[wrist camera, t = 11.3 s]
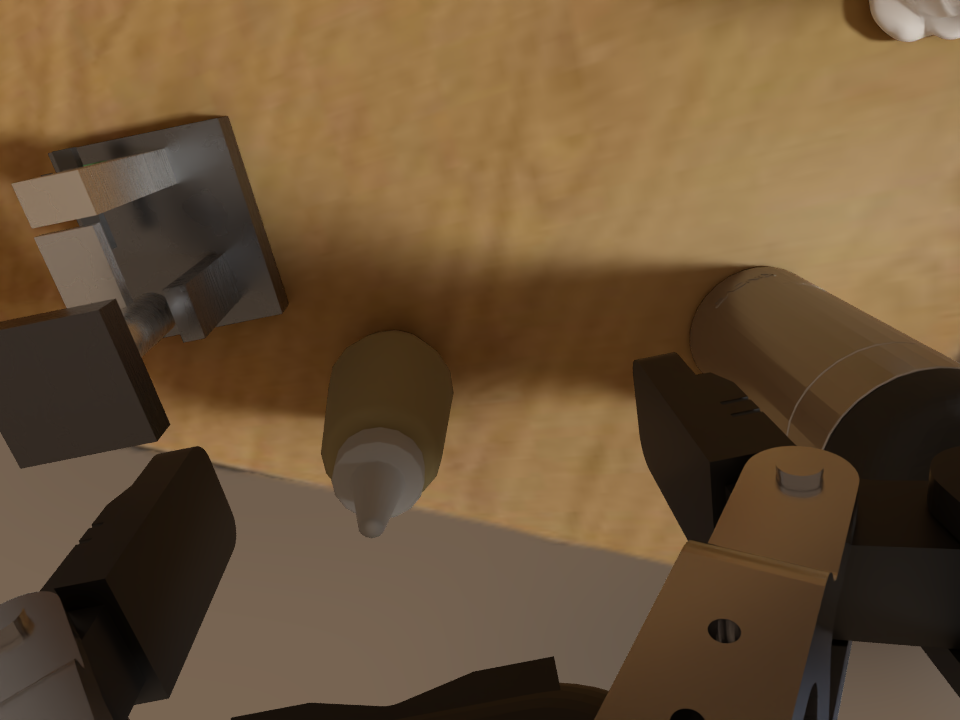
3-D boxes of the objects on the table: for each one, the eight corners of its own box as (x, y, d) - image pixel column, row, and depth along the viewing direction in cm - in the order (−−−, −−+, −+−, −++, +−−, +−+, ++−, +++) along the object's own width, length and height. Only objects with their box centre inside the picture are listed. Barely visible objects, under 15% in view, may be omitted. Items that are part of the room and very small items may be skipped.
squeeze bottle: (312, 365, 46) (241, 525, 29) (395, 289, 44) (371, 415, 28) (393, 438, 49) (371, 624, 32) (475, 370, 47) (496, 529, 30)
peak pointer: (117, 246, 37) (112, 249, 37) (100, 250, 37) (95, 253, 37) (75, 147, 35) (70, 148, 35) (57, 150, 35) (51, 151, 35)
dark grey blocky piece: (226, 352, 37) (156, 441, 28) (123, 373, 37) (20, 468, 28) (171, 204, 34) (71, 250, 25) (58, 227, 34) (-83, 282, 25)
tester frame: (288, 304, 44) (238, 378, 33) (143, 333, 44) (46, 417, 33) (228, 116, 39) (146, 129, 28) (65, 150, 40) (-78, 177, 29)
